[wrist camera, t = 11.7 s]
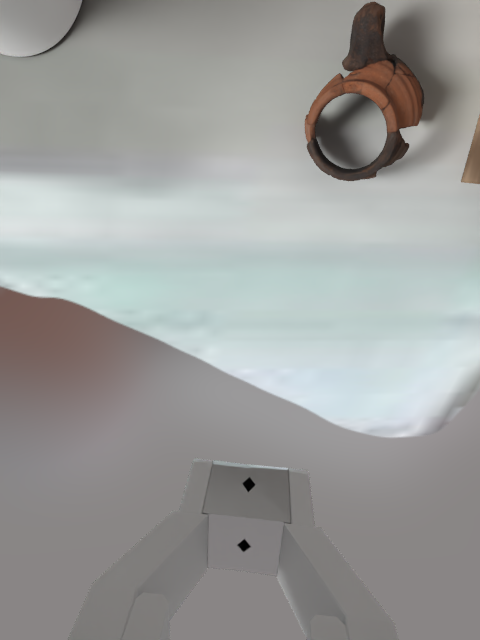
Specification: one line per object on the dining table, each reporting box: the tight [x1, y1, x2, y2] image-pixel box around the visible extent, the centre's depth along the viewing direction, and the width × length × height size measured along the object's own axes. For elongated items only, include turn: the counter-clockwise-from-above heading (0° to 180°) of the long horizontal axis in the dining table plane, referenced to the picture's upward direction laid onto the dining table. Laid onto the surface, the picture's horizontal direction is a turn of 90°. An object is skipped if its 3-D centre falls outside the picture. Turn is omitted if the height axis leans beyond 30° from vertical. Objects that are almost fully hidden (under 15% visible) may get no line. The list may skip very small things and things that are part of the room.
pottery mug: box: [305, 2, 424, 181], centre depth 30 cm, size 12×10×8 cm
